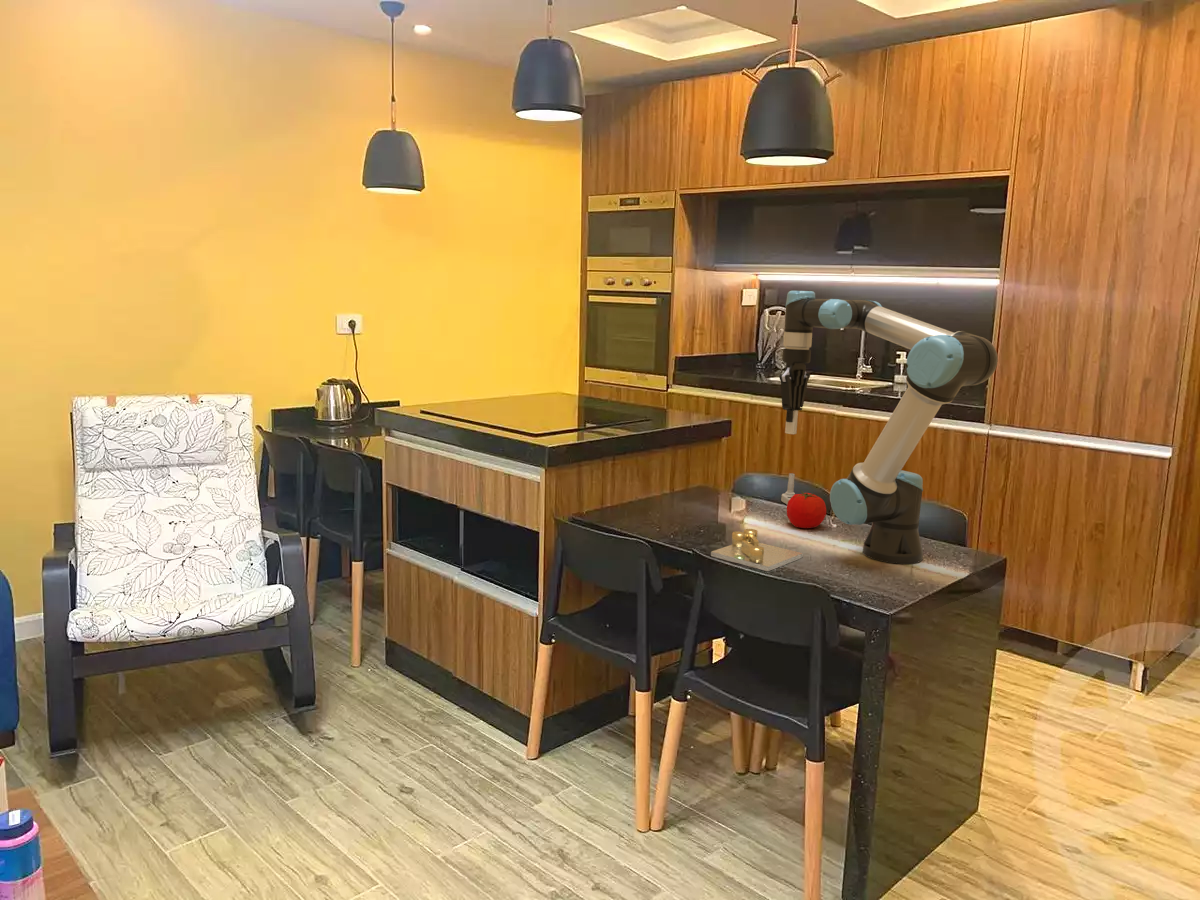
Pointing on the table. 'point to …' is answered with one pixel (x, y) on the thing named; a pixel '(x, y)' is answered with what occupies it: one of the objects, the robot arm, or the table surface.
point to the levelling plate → (771, 558)
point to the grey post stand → (789, 489)
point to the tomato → (806, 510)
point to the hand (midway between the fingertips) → (790, 433)
